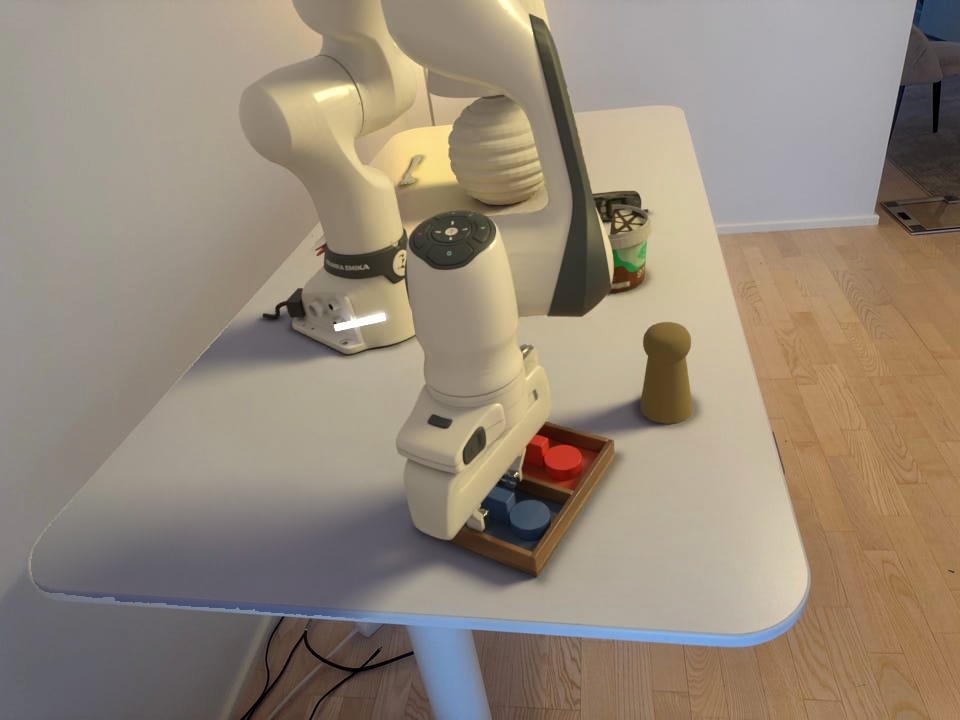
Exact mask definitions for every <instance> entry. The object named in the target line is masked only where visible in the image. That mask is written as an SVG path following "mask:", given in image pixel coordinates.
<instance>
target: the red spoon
mask: <svg viewBox="0 0 960 720" xmlns="http://www.w3.org/2000/svg"><path fill="white" fill-rule="evenodd" d="M523 461H525V462H528V463H531V464H534V465H538V466H541V467H544V466H545V471H546V473H547V475H548V476H549V477H550V478H552V479H554V480H558V481H568V480H572V479H574V478H576V477H577V476H578V475H579V474H580V473H581V471H582V456H581V453H580V451H579V450H578V449H576V448H575V447H572V446H569V445H558V446H555V447H552V448H550V449H549V442H548V438H546V437H543V436H539V435H535V436H534V437H533V438H532V440H531V441H530V442H529V443H528V445H527V446H526V452H525V456H524V460H523Z"/></svg>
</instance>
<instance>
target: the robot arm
mask: <svg viewBox="0 0 960 720" xmlns="http://www.w3.org/2000/svg"><path fill="white" fill-rule="evenodd" d="M291 2H292V5H293V8H294V9H295V12H296V13H297V16H298V17H299V18H300V19H301V21H302V22H303V23H304V24H305V25H306V26H307V27H308V28H309V29H311V30H312V31H314V32H315V33H317V34H319V35H321V36H322V37H321V38H322V45H321V49H320V51H319V52H318V54H317V55H314V56H313V57H311V58H307V59H304V60H300V61H298V62H294V63H292V64H291V63H290V64H288V65H285V66H281V67H279V68H276V69H273V70H271V71H270V72H268V73H267V74H265V75H264V76H262V77H260V78H258V79H257V80H256V81H254V82H252V83H251V84H249V85H247V87H246V88H245V89H244V90H243V91H242V93H241V96H240V100H239V107H238V115H239V123H240V127H241V130H242V132H243V135H244V137H245V139H246V140H247V142H248V143H249V145H250V146H251V147H252V148H253V149H254V151H255V152H257V154H259V155H260V156H261V157H263V158H264V159H265V160H267V161H268V162H271V163H273V164H276V165H278V166H281V167H282V168H285V169H286V170H288V171H289V172H291V173H292V174H293V175H294V176H295V177H296V178H297V179H298V180H299V181H300V182H301V183H302V185H303V186H304V187H305V189H306V190H307V192H308V193H309V196H310V197H311V199H312V201H313V204H314V207H315V210H316V212H317V215H318V219H319V222H320V225H321V228H322V232H323V235H324V238H325V243H323V244H322V245H320V246H319V247H317V248H315V249H314V251H315V252H317V253H316V254H315V255H316V257H320V256H321V255H322V254H324V255H323V265H322V266H321V267H320V268H319V270H317V272H315V274H314V275H312V277H310V279H309V280H307V282H306V283H305V284H304V286H303V287H298V288H296V290H294V292H293V293H292V294H291V295H290V296H289V297H288V298H287V299H286V300H284V301H281V302H278V303H277V304H276V306H275V308H274V312H275V314H271V313H268V312H267V313H265V312H263V313H262V318H263V319H269V320H276V319H278V318H280V316H281V310H280V309H281V308H283V307H285V308H286V311H287V313H288V316H289V318H293V319H292V321H291V326H292V329H293V330H295V331H296V332H299V333H301V334H303V335H306V336H307V337H309V338H311V339H313V340H316V342H319V343H321V344H324V345H326V346H328V347H330V348H332V349H334V350H335V351H337V352H340V353H342V354H344V355H353V354H357V353H359V352H362V351H366V350H368V349H373V348H380V347H387V346H390V345H395V344H398V343H401V342H403V341H406V340H408V339H410V338H412V337H414V336H415V337H416V340H417V342H418V343H419V345H420V347H421V348H422V351H423V355H424V361H423V376H424V382H425V384H424V385H423V386H422V388H421V390H420V392H419V395H418V397H417V400H416V401H415V403H414V406H413V408H412V410H411V412H410V414H409V415H408V417H407V419H406V420H405V422H404V424H402V427H401V428H400V430H399V431H398V433H397V435H396V438H395V447H396V451H397V453H398V454H399V455H400V456H402V457H404V458H406V461H405V464H404V469H403V485H404V491H405V497H406V501H407V505H408V511H409V514H410V517H411V520H412V523H413V525H414V527H415V528H416V529H417V530H419V531H420V532H422V533H424V534H426V535H428V536H431V537H434V538H436V539H440V540H444V541H446V540H451V539H453V538H454V537H455V535H456V534H457V533H458V531H459V530H460V529H461V528H462V526H463V525H464V524H465V523H466V522H467V526H468V527H469V528H471V529H473V530H476V531H479V532H482V531H483V530H484V528H485V527H486V526H487V524H488V523H489V521H490V519H489V512H488V510H485V509H479V508H480V506H481V502H482V501H483V500H484V499H485V497H486V496H487V495H488V494H489V492H490V491H491V490H492V489H493V487H494V486H495V485H496V484H497V482H498V481H499V480H500V479H501V483H502V484H503V485H504V486H506V487H508V486H510V488H513V489H514V488H516V486H517V485H518V484H519V483H520V481H521V480H522V470H521V468H522V465H523V460H524V456H525V452H526V446H527V445H528V443H529V442H530V441H531V440H532V438H533V437H534V436H535V435H536V433H537V432H538V431H539V429H540V428H541V427H542V426H543V424H544V423H545V422H548V420H549V418H550V415H551V411H552V399H551V392H550V387H549V386H550V385H549V382H548V378H547V377H548V376H547V374H546V370H545V369H544V367H543V366H542V365H540V364H539V355H538V350H537V348H535V347H534V345H532V344H526V343H525V344H521V345H519V343H518V341H517V331H518V328H519V318H525V317H527V318H528V317H537V316H547V317H550V318H551V317H554V318H555V317H557V318H558V317H559V318H561V317H563V318H565V317H567V318H583V317H584V316H586V315H587V314H588V313H590V312H591V311H592V310H593V309H595V307H597V306H598V305H599V304H600V303H601V302H602V301H603V300H604V299H605V297H607V295H608V294H609V293H610V290H611V283H612V280H613V273H614V261H613V254H612V248H611V244H610V241H609V238H608V235H609V234H608V233H607V230H606V227H605V225H604V223H603V221H602V220H601V218H600V216H599V213H598V211H597V208H596V206H595V202H594V199H593V194H594V193H593V191H592V186H591V178H590V177H589V171H588V166H587V162H586V158H585V154H584V150H583V145H582V141H581V137H580V132H579V131H578V124H577V120H576V117H575V113H574V112H575V111H574V108H573V107H574V106H573V104H572V99H571V95H570V92H569V88H568V85H567V83H566V79H565V75H564V71H563V67H562V64H561V60H560V56H559V52H558V49H557V45H556V42H555V40H554V38H553V35H552V32H551V33H550V31H549V29H548V27H547V25H546V23H545V22H544V20H543V19H541V18H539V17H537V16H534V15H532V14H530V13H529V14H528V13H527V11H526V10H525V9H524V7H523V6H522V4H521V3H520V1H519V0H291ZM410 60H411V61H413V62H414V63H415V64H417V65H419V66H420V67H422V68H423V69H426V70H427V71H428V70H430V71H433V72H435V73H437V74H440V75H443V76H446V77H449V78H453V79H456V80H460V81H464V82H467V83H471V84H475V85H478V86H482V87H485V88H488V89H491V90H494V91H496V92H499V93H501V94H503V95H505V96H507V97H508V98H510V99H512V100H513V101H514V102H515V103H517V104H518V105H519V106H520V108H521V109H522V110H523V111H524V113H525V114H526V116H527V118H528V120H529V123H530V126H531V130H532V134H533V137H534V141H535V145H536V149H537V153H538V157H539V161H540V165H541V169H542V173H543V177H544V181H545V182H544V184H545V188H546V192H547V197H548V200H547V203H546V205H545V206H544V207H543V208H541V209H538V210H535V211H525V212H515V213H505V214H494V215H485V214H483V213H480V212H478V211H474V210H467V209H465V210H464V209H463V210H462V209H460V210H459V209H458V210H450V211H445V212H440V213H438V214H435V215H433V216H431V217H428V218H427V219H425V220H423V221H422V222H420V223H419V224H418V225H417V226H416V227H415V228H414V229H413V230H412V231H411V233H410V234H409V235H408V233H407V230H406V229H405V228H404V227H403V223H402V222H403V221H402V217H401V213H400V208H399V203H398V198H397V194H396V189H395V185H394V183H393V180H392V179H391V178H390V177H389V176H388V175H387V174H386V173H385V172H383V171H382V170H380V169H378V168H376V167H374V166H370V165H366V164H362V162H361V160H360V158H359V156H358V154H357V151H356V148H355V141H356V140H358V139H360V138H363V137H365V136H368V135H370V134H372V133H374V132H377V131H380V130H382V129H384V128H386V127H388V126H389V125H391V124H392V123H394V122H396V121H397V120H398V119H399V118H401V116H403V115H404V114H405V113H406V112H407V111H410V109H411V108H412V107H413V105H414V103H415V101H416V97H417V90H418V86H417V77H416V76H417V75H416V72H415V70H414V67H413V65H412V62H411V61H410Z"/></svg>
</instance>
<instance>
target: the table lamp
mask: <svg viewBox="0 0 960 720" xmlns="http://www.w3.org/2000/svg"><path fill="white" fill-rule="evenodd" d="M519 1H520V3H521V4H522V6H523V7H524V9H525V10H526V11H527V13H528V14H529V13H530V14H532V15H534V16H537V17H539V18H541V19H543V20H544V22H545V23H546V25H547V27H548V29H549V31H550V33H551V34H552V31H551V26H550V22H549V18H548V14H547V11H546V6H545V2H544V0H519ZM426 71H427V74H426V75H427V77H426V78H427V79H426V80H427V82H426V84H427V85H426V87H427V88H426V90H427V92H428V93H429V94H431V95H433V96H436V97H440V98H449V99H450V98H451V99H475V98H477V99H475V100H474V101H473V102H472V103H471V104H469V105H466V107H464V108H463V109H462V111H461V113H460V114H459V115H460V116H458V117H457V118H456V119H455V120H454V122H453V123H452V124H453V125H452V130H451V131H450V133H449V134H448V137H447V140H448V141H447V143H448V146H449V147H448V154H447V155H448V159H449V161H450V165H449V166H450V169H451V172H452V173H453V175H454V176H455V179H456V180H457V183H458V185H459V186H460V187H461V188H462V189H464V190H465V192H466V193H467V194H468V195H469V196H470V197H472V198H474V199H476V200H479V201H480V202H481V203H483V204H487V205H490V206H505V205H513V204H517V203H520V202H523V201H525V200H527V199H528V200H529V198H531V197H532V196H534V194H535V193H536V192H537V191H539V190H541V188H542V187H543V186H544V184H545V181H544V177H543V173H542V169H541V165H540V161H539V157H538V153H537V149H536V145H535V141H534V137H533V134H532V130H531V126H530V123H529V120H528V118H527V116H526V114H525V113H524V111H523V110H522V109H521V108H520V106H519V105H518V104H517V103H515V102H514V101H513V100H512V99H510V98H508V97H507V96H505V95H503V94H501V93H499V92H496V91H494V90H491V89H488V88H485V87H482V86H478V85H475V84H471V83H467V82H464V81H460V80H456V79H453V78H449V77H446V76H443V75H440V74H437V73H435V72H433V71H430V70H428V69H427V70H426Z"/></svg>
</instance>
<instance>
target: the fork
mask: <svg viewBox="0 0 960 720" xmlns="http://www.w3.org/2000/svg"><path fill="white" fill-rule="evenodd" d="M421 159H422V155H420V154H419V155H414V157H413V159H412V162H411V165H410V167H409V170H408V172H407V174H406V176H405V177H404V179H402V180H401V182H400V183H398V185H399V186H400V185H411V184H413V183H415V182H416V179H415V177H413V174H412V171H413V169H414V168H415V167H416V166H417V165H418V164H419V162H420V161H421Z"/></svg>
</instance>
